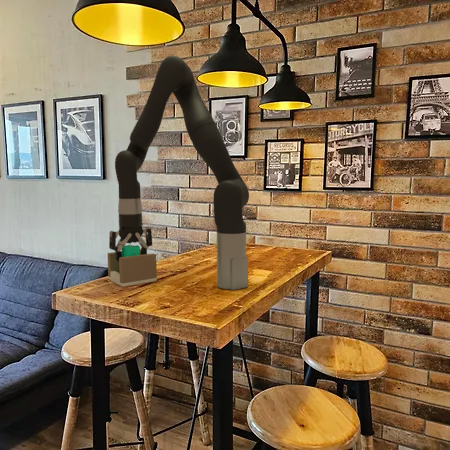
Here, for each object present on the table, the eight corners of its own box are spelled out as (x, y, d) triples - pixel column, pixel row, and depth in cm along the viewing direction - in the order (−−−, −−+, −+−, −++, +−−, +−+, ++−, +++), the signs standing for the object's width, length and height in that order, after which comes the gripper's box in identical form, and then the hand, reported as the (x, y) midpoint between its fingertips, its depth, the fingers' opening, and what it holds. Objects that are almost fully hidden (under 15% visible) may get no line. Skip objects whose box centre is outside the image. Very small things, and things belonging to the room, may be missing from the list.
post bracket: (156, 280, 137) (156, 254, 136) (122, 286, 130) (121, 258, 129) (141, 274, 147) (140, 249, 146) (108, 279, 140) (107, 252, 139)
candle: (136, 279, 135) (135, 243, 133) (119, 278, 136) (118, 242, 135) (143, 275, 141) (142, 240, 139) (127, 274, 142) (126, 240, 140)
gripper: (113, 214, 129) (115, 265, 131) (155, 211, 137) (156, 259, 139) (105, 212, 135) (106, 261, 137) (145, 210, 143) (146, 256, 145)
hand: (131, 260), depth 138 cm, fingers open, 8 cm apart
